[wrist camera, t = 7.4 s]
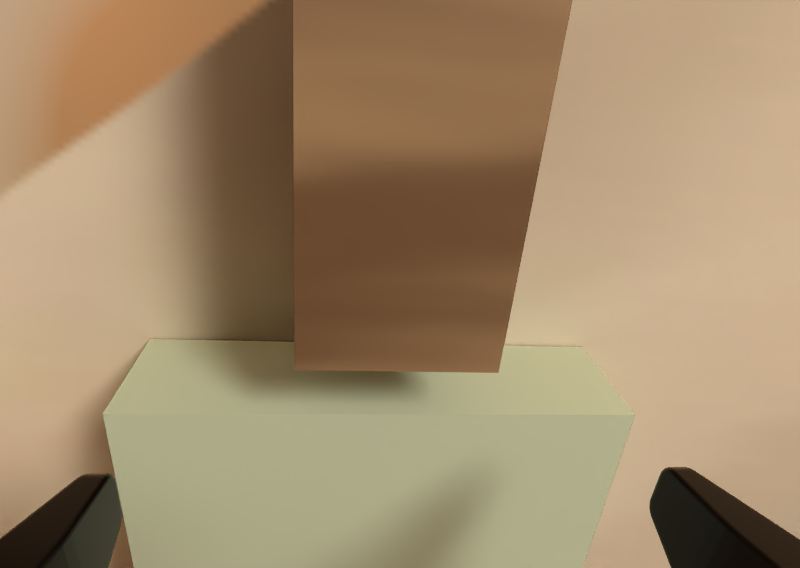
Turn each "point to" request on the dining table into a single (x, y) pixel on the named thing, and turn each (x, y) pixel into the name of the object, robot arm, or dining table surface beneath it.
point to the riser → (361, 460)
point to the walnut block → (415, 176)
